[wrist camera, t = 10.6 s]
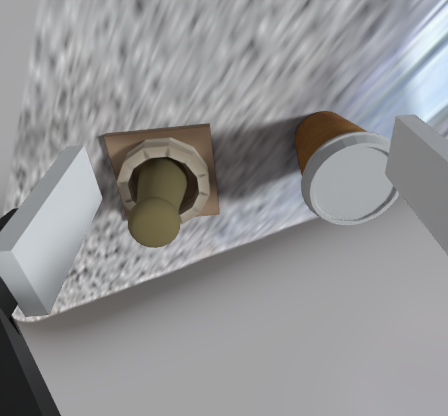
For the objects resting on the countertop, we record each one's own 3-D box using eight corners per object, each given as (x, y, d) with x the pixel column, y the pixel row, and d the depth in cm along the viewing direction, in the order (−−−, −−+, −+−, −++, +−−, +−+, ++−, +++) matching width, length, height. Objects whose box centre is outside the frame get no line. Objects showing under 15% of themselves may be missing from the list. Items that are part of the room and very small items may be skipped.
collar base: (106, 133, 41) (98, 145, 38) (209, 123, 41) (210, 134, 38) (130, 218, 47) (124, 234, 45) (219, 210, 47) (220, 225, 44)
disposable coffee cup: (264, 145, 43) (282, 197, 33) (321, 79, 39) (361, 115, 29) (320, 185, 46) (352, 244, 36) (377, 128, 42) (431, 176, 32)
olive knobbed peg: (196, 190, 44) (193, 246, 35) (152, 205, 45) (139, 264, 36) (175, 148, 41) (167, 197, 32) (129, 166, 42) (108, 218, 33)
